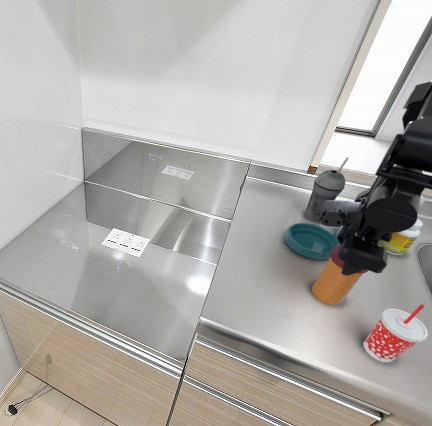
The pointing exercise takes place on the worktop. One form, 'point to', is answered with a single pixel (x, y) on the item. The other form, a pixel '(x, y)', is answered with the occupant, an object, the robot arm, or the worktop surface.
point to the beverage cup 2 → (395, 334)
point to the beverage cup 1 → (325, 191)
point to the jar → (333, 284)
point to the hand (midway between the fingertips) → (346, 264)
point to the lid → (338, 261)
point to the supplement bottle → (402, 240)
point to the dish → (311, 240)
